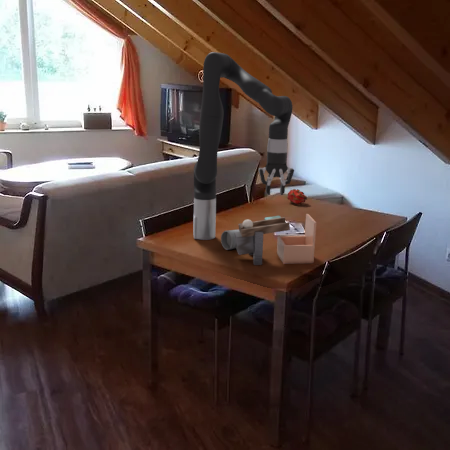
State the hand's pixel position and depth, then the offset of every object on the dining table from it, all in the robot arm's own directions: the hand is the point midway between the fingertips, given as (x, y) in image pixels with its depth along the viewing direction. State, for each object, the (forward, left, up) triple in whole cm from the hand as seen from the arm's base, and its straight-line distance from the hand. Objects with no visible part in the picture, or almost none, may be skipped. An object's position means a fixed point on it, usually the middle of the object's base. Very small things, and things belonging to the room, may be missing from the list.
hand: (275, 194), depth 213 cm
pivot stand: (-8, -8, -23) cm, 26 cm away
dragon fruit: (+29, +75, -24) cm, 84 cm away
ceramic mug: (-16, +7, -24) cm, 29 cm away
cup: (+7, -8, -23) cm, 26 cm away
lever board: (-5, -4, -19) cm, 20 cm away
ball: (-12, -8, -10) cm, 17 cm away
